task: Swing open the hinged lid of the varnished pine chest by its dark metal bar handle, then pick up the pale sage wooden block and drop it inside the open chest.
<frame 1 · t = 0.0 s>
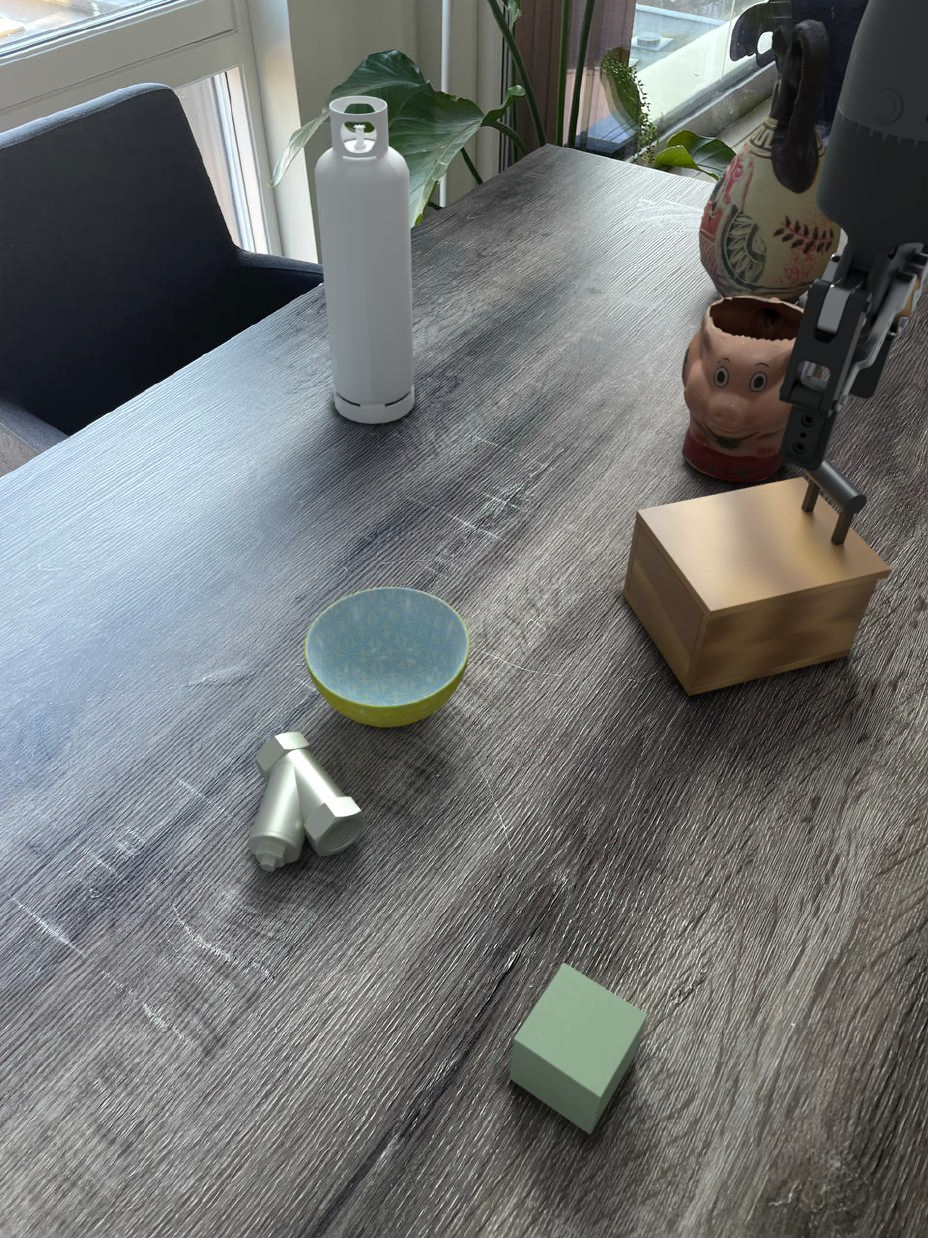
hand: (828, 425, 54), 25 cm above the table, tool pointing down, fingers open, 8 cm apart
lid: (766, 518, 72), point 11 cm above the table, hinge at 0.0°
chest: (731, 624, 79), on the table
pipe fitting: (290, 823, 65), on the table
block: (572, 1066, 54), on the table
decorative planter: (732, 448, 97), on the table
bottle: (374, 403, 102), on the table
bowl: (390, 703, 73), on the table
ceramic jug: (753, 305, 118), on the table
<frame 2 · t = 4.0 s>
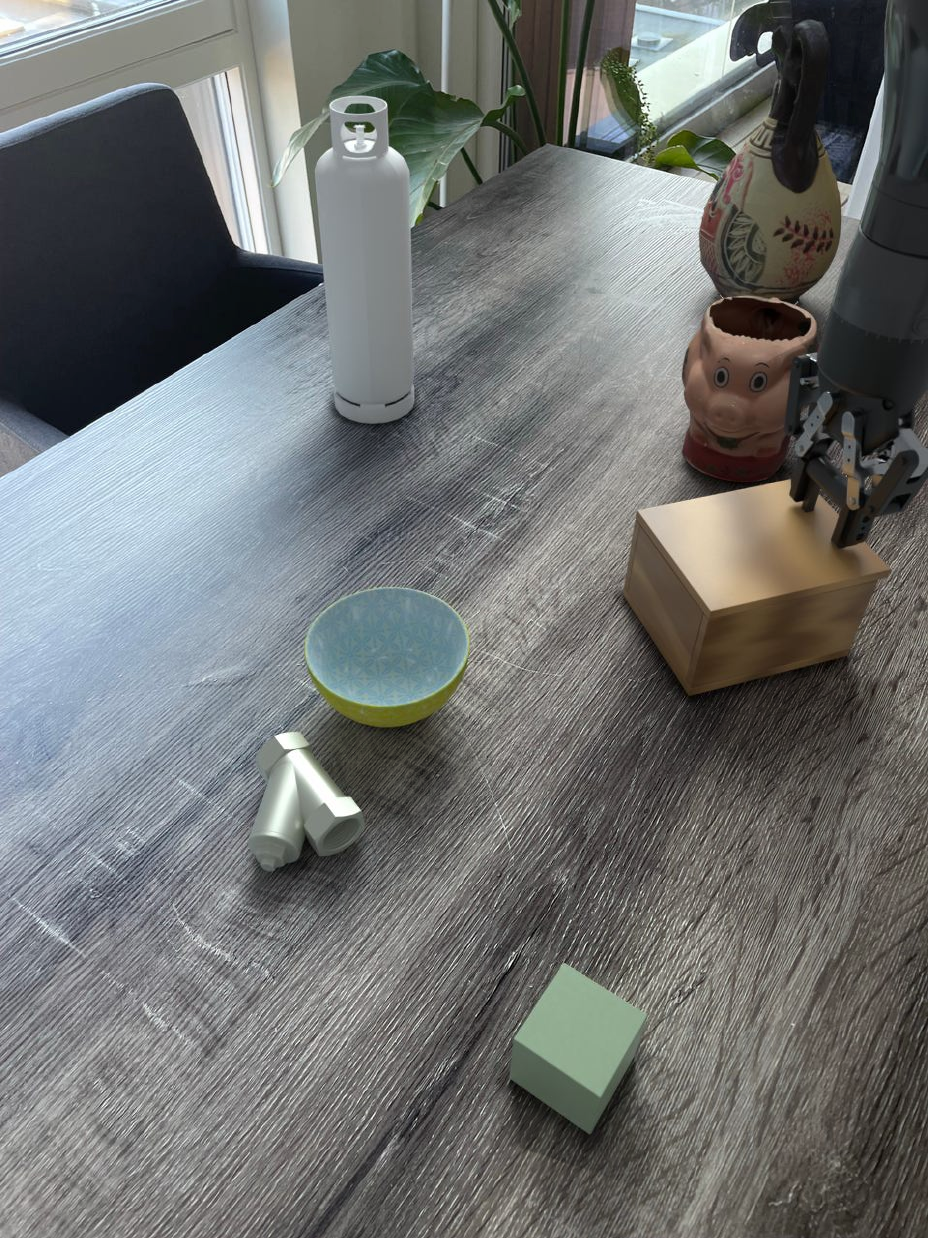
hand: (823, 519, 74), 9 cm above the table, tool pointing down, fingers closed on lid, 5 cm apart
lid: (766, 518, 72), point 11 cm above the table, hinge at 0.0°, touching gripper
everything else where it was.
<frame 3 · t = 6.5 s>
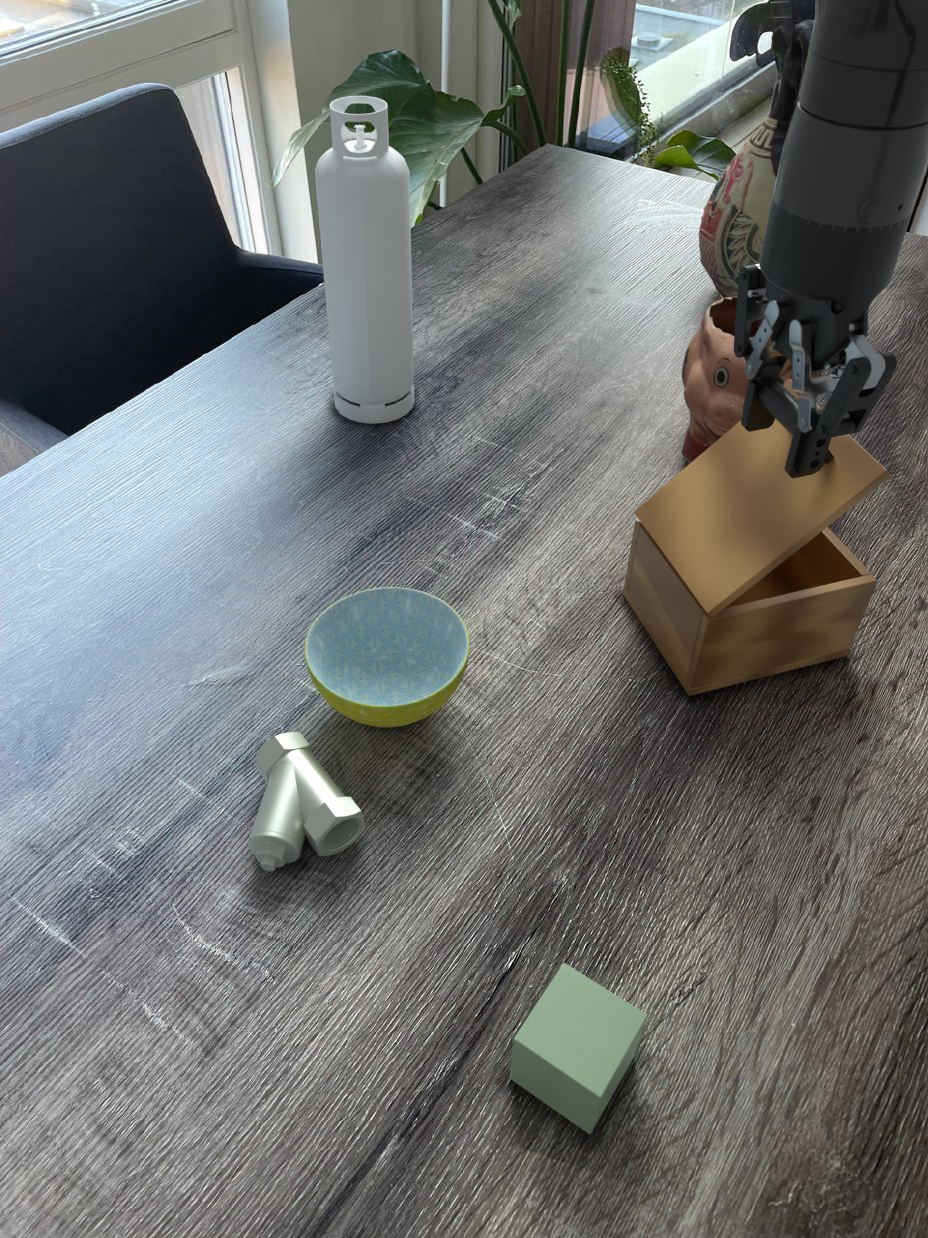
hand: (777, 448, 67), 17 cm above the table, tool pointing down, fingers closed on lid, 5 cm apart
lid: (737, 479, 68), point 15 cm above the table, hinge at 41.1°, touching gripper
everything else where it was.
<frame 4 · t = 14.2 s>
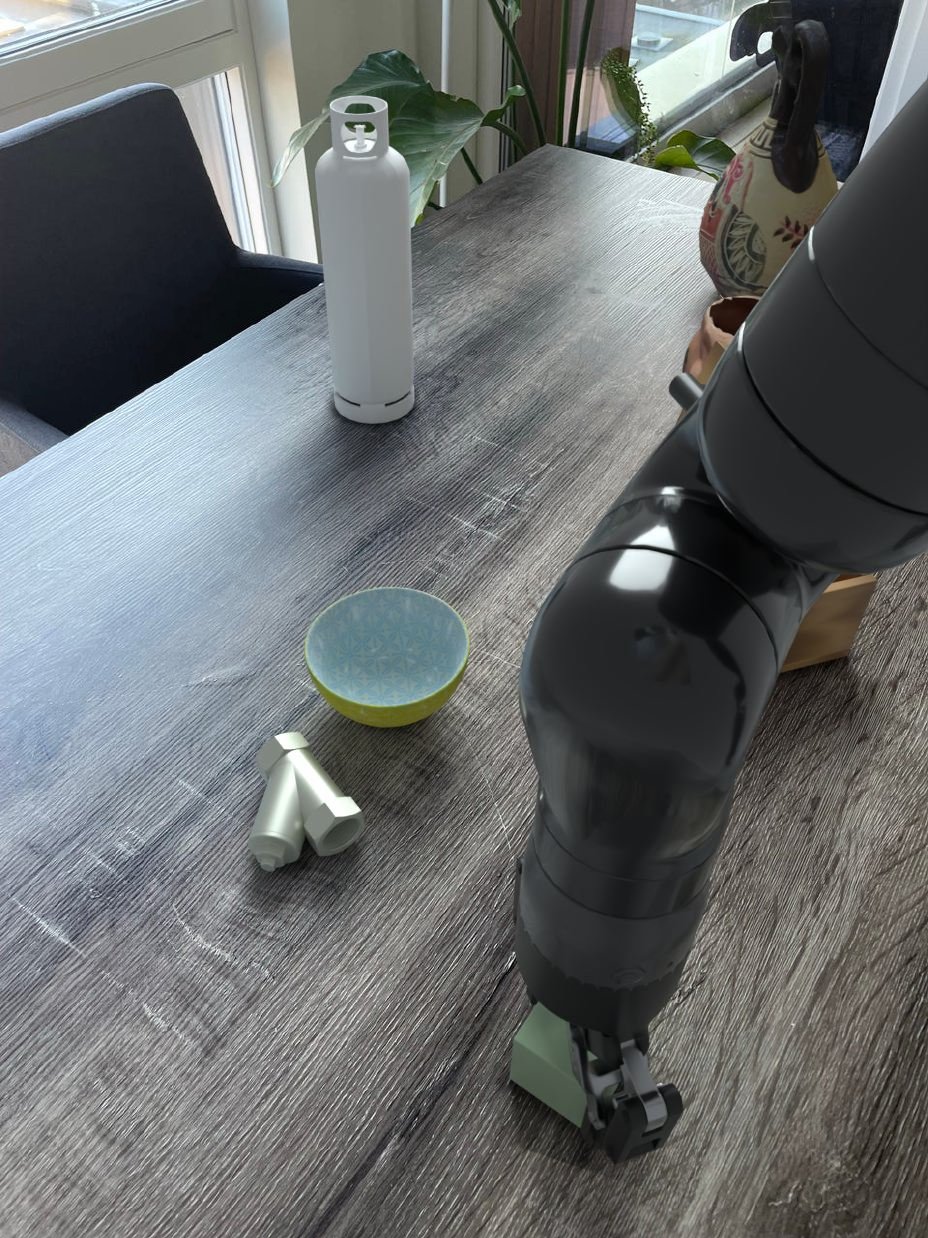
hand: (572, 1059, 53), 1 cm above the table, tool pointing down, fingers closed on block, 7 cm apart
lid: (687, 476, 66), point 16 cm above the table, hinge at 73.1°
block: (572, 1067, 54), on the table, touching gripper
everything else where it was.
when the fingers open (8 cm above the table, at t = 24.1 s): block drops 5 cm, point 5 cm above the table.
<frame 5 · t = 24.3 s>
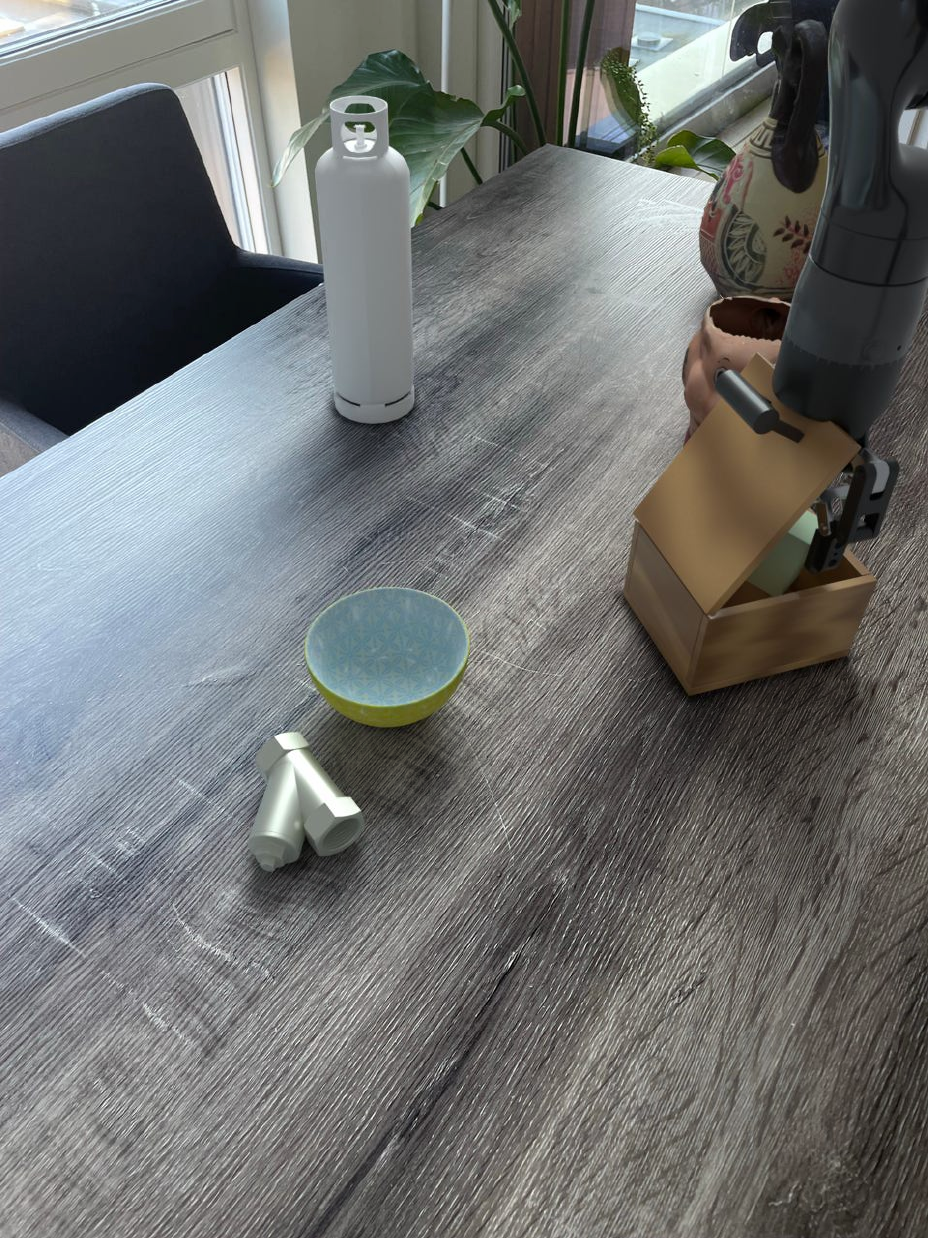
hand: (786, 533, 73), 9 cm above the table, tool pointing down, fingers open, 8 cm apart
lid: (713, 473, 67), point 16 cm above the table, hinge at 58.0°
block: (759, 570, 76), point 5 cm above the table, tilted 16°, touching gripper
everything else where it was.
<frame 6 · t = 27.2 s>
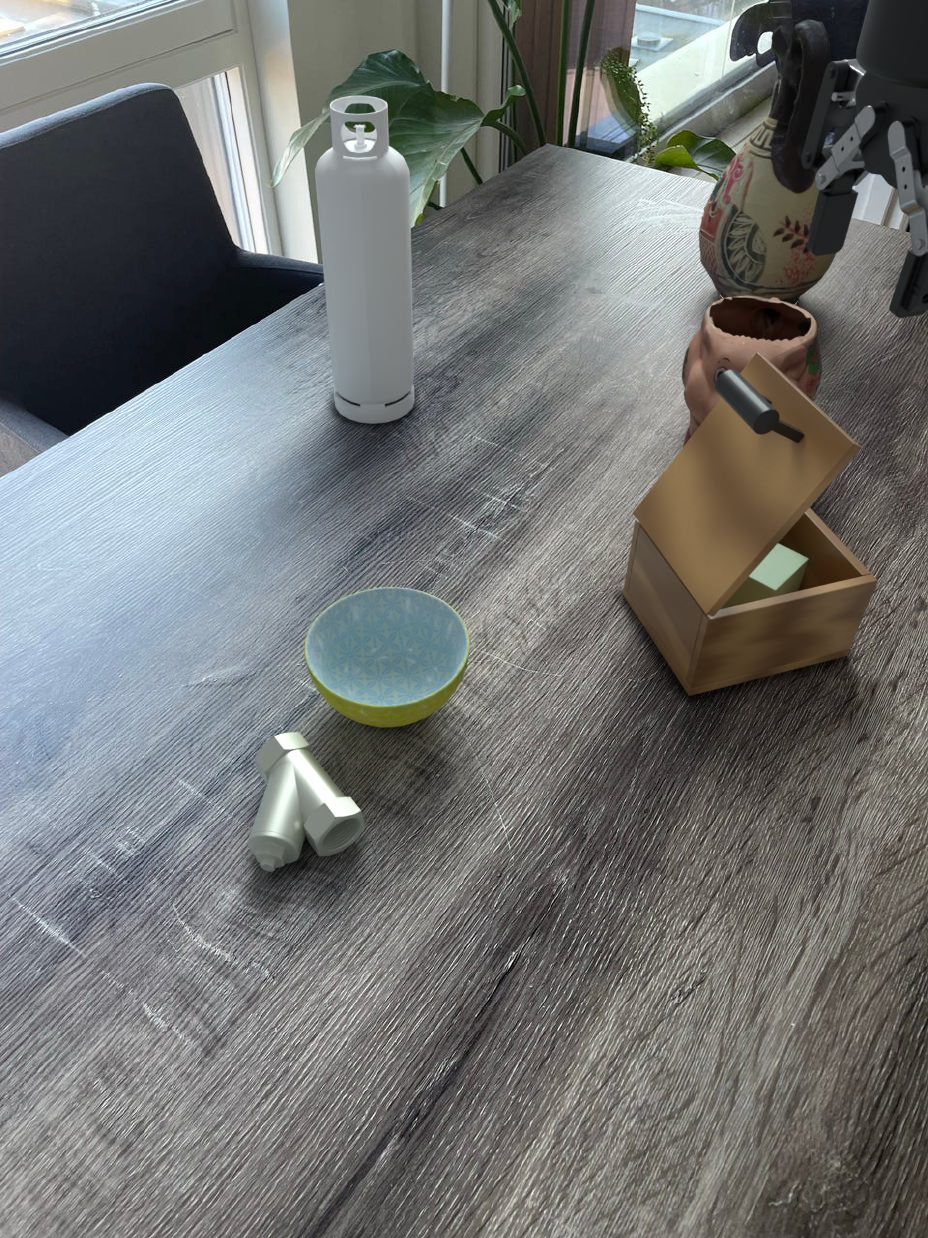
hand: (862, 281, 60), 28 cm above the table, tool pointing down, fingers open, 8 cm apart
block: (749, 607, 79), point 1 cm above the table, touching chest
everything else where it was.
at the end: lid at +58° (first picture: +0°); block inside the target area in the chest (1.9 cm from its centre), point 0.8 cm above the chest's base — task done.
